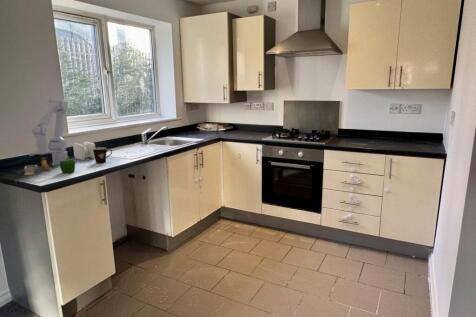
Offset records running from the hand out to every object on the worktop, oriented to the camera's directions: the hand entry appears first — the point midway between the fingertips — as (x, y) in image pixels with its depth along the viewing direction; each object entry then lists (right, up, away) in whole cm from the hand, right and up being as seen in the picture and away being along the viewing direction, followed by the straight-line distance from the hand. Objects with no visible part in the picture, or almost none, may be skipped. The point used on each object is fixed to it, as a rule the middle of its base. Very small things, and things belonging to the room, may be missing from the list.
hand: (44, 165), depth 205 cm
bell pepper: (+20, -5, -8) cm, 22 cm away
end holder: (-5, -3, -5) cm, 8 cm away
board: (-1, -4, -4) cm, 6 cm away
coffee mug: (+29, +2, +20) cm, 35 cm away
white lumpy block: (+11, +4, +33) cm, 35 cm away
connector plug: (0, -2, 0) cm, 2 cm away
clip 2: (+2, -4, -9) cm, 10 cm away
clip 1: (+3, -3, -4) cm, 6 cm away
